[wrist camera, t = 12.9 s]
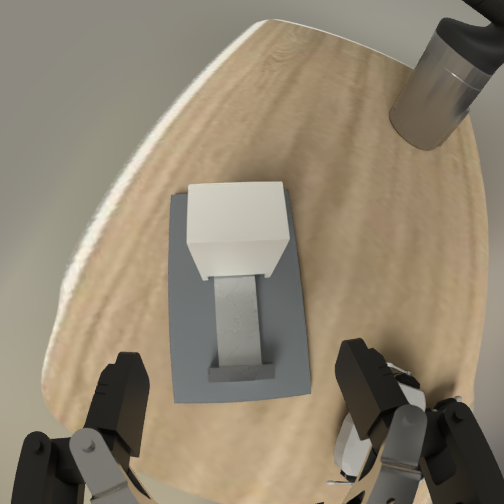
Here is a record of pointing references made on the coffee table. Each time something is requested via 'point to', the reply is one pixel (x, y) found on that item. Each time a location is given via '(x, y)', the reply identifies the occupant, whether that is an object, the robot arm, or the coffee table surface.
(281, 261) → the rail board
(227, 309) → the rail
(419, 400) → the robot toy
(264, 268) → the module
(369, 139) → the coffee table surface
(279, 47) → the coffee table surface
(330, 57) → the coffee table surface
